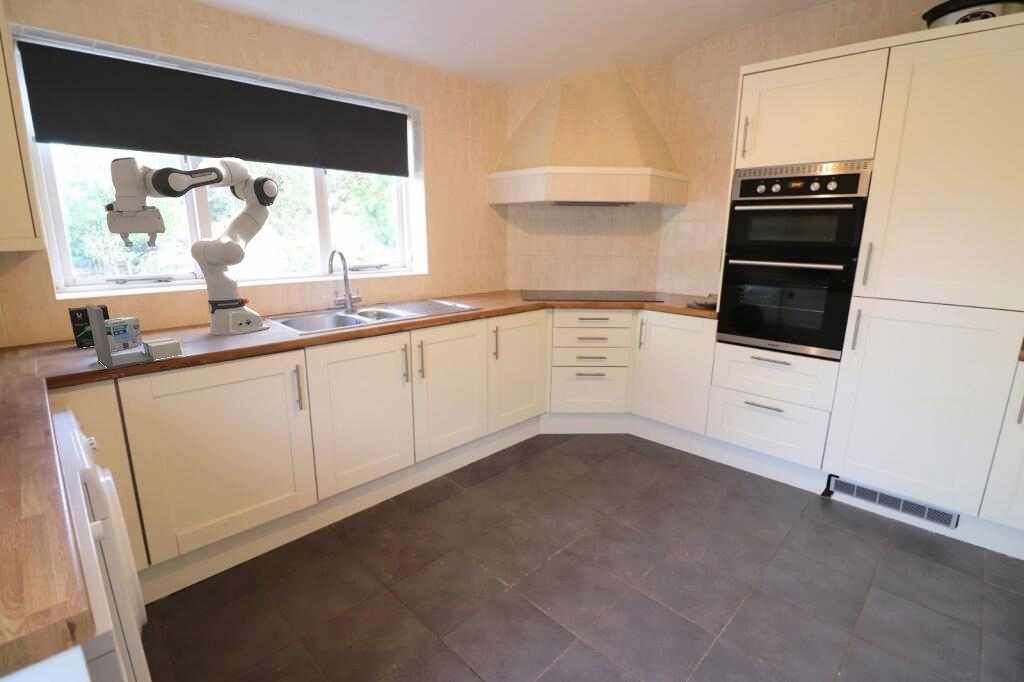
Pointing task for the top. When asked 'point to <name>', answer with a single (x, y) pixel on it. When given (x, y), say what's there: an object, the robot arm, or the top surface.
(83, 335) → the tampon box
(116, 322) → the light bulb box
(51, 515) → the top surface
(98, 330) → the display platform
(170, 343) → the cream carton
